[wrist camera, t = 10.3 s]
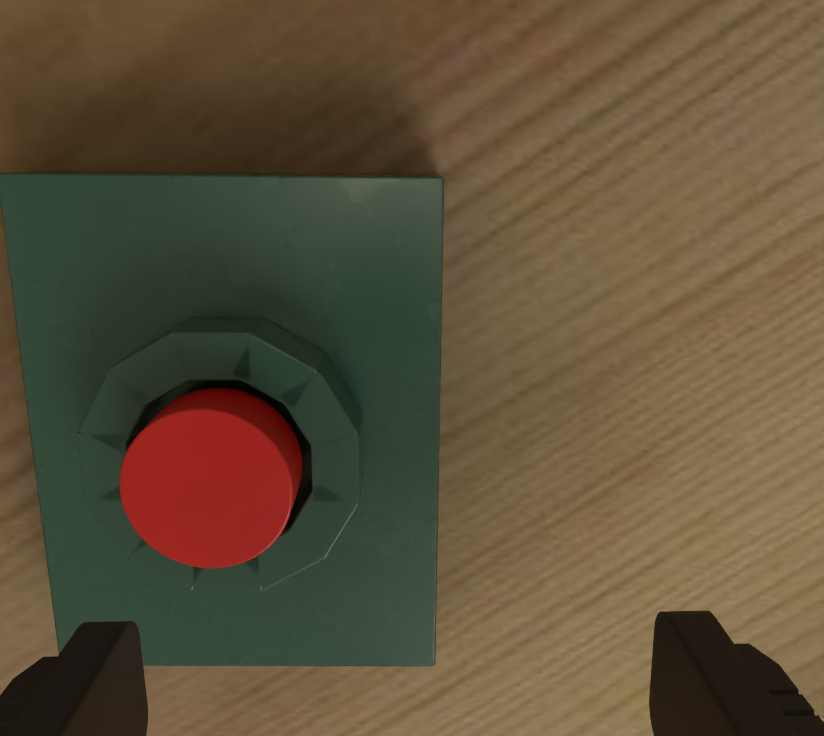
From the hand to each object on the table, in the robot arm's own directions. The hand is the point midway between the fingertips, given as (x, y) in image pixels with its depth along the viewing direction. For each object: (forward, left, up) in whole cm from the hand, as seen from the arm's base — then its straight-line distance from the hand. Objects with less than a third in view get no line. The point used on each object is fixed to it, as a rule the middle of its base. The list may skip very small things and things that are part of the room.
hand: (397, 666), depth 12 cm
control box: (0, -4, -12) cm, 12 cm away
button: (0, -4, -8) cm, 9 cm away
